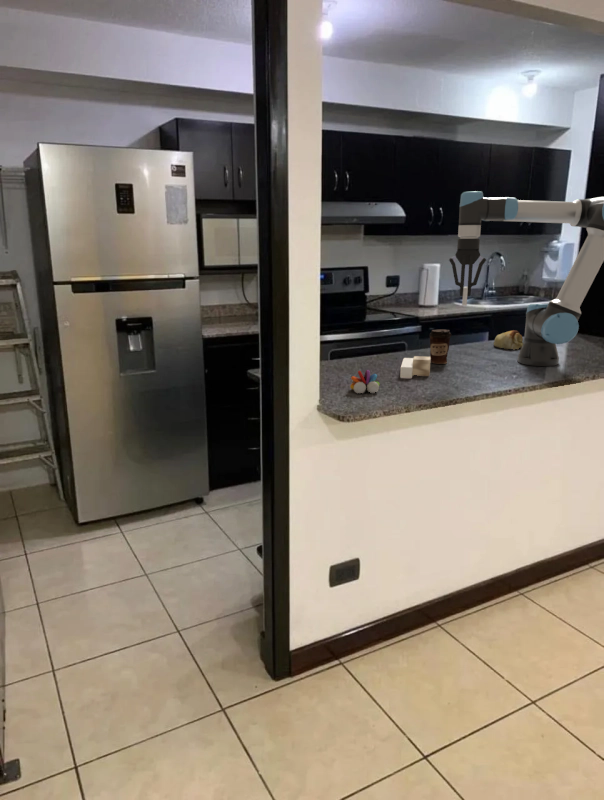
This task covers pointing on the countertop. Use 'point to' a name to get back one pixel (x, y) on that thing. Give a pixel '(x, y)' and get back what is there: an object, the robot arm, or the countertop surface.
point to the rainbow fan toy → (365, 383)
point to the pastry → (509, 340)
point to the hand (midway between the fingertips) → (464, 305)
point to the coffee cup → (439, 346)
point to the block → (421, 366)
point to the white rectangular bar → (406, 368)
